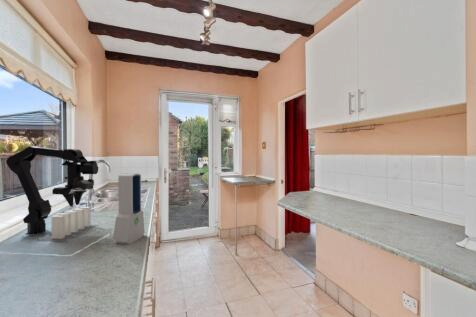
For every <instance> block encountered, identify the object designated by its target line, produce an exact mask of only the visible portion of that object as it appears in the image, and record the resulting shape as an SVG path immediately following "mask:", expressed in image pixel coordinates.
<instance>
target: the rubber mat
mask: <svg viewBox="0 0 476 317" xmlns="http://www.w3.org/2000/svg"><path fill="white" fill-rule="evenodd" d="M98 226H99V225H98V224H97V225H96V224H91V226H89V227H85V229H78V232H71V235H65V238H63V239H52V234H51V235H48V236H45V237H43V238H40V239H38V240H36V242H48V243H49V242H50V243H51V242H52V243H56V242H57V243H62V242H64V241H66V240H69V239H71V238H73V237H75V236H78V235H80V234H83V233H85V232H87V231H89V230H91V229H93V228H94V229H95V227H98Z"/></svg>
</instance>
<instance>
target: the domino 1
mask: <svg viewBox="0 0 476 317" xmlns="http://www.w3.org/2000/svg"><path fill="white" fill-rule="evenodd" d="M51 235H52V239H63V238H65V216H58V215H52V216H51Z"/></svg>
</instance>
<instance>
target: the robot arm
mask: <svg viewBox="0 0 476 317" xmlns="http://www.w3.org/2000/svg"><path fill="white" fill-rule="evenodd" d="M37 156H44V157H52V158H59V159H62V160H65V161H64V162H63V163H61V166H66V176H65V177H64V179H65V180H66V184H65V185H64V186H59V187H53V189H52V195H62V196H63V197H64V199H65V200H66V202H67V203H68V205H69V207H71V208H72V207H74V203H75V205H76V206H79V205H80V202H81V200H82V197H83V195H84V194H85V193H86V192H88V190H93V189H94V185H95V180H94V178H88V179H85V178H84V176H83V175H97V174H98V172H99V165H98V164H97V161H96V160H87V158H86V157H85V156H84V153H83V152H82V150H80V149H77V148H68V149H67V148H66V149H65V148H64V149H57V148H56V149H55V148H46V147H39V146H27V147H26V148H24V149H23V150H20V151H19V152H17V153H14V154H13V155H10V156H8V157H7V159H6V160H5V164H6V165H7V167H8V168H9V170H10V171H11V172H12V173H14V174H15V175H16V176H17V178H18V180H19V183H20V185H21V187H22V189H23V192H24V194H25V196H26V198H27V200H28V207H27V211H28V214H27V215H26V216H25V217H24V218H22V220H23V223H24V224H27V232H26V233H24V235H39V234H42V233H44V232H45V233H46V232H47V231H48V229H46V228H47V227H46V225H47V224H46V219H47V218H48V217H49V215H50V214H51V212H52V208H53V207H52V206H53V205H52V204H51V203H50V200H49V199H47V200H45V199H43V198H42V196H41V193H40V191H39V189H38V187H37V184H36V181H35V180H34V178H33V175H32V173H31V168H32V162H33V161H34V160H35V159H36V157H37Z"/></svg>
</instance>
